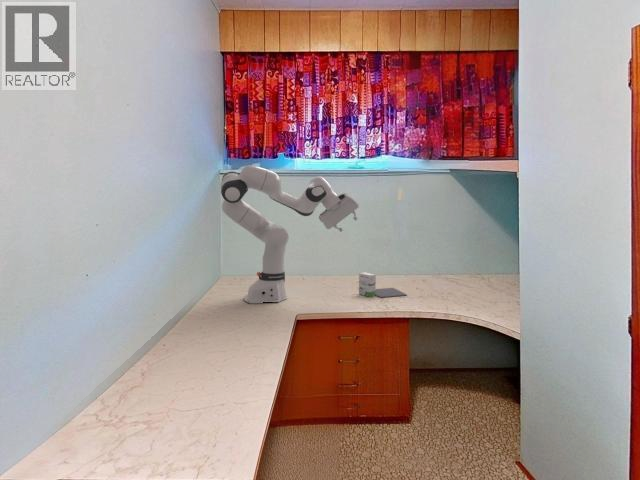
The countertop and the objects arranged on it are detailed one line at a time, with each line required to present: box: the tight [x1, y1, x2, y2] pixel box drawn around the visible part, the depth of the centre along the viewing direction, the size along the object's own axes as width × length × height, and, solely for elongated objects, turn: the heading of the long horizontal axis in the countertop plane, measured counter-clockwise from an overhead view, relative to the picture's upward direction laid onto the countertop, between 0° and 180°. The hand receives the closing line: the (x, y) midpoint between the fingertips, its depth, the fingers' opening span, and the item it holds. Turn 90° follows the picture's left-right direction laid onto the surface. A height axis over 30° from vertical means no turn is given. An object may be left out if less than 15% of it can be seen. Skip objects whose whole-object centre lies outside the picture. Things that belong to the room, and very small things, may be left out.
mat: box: [375, 287, 408, 299], centre depth 243 cm, size 16×16×1 cm
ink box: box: [358, 272, 377, 298], centre depth 238 cm, size 9×5×12 cm, turn 40°
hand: (349, 225), depth 223 cm, fingers open, 8 cm apart
